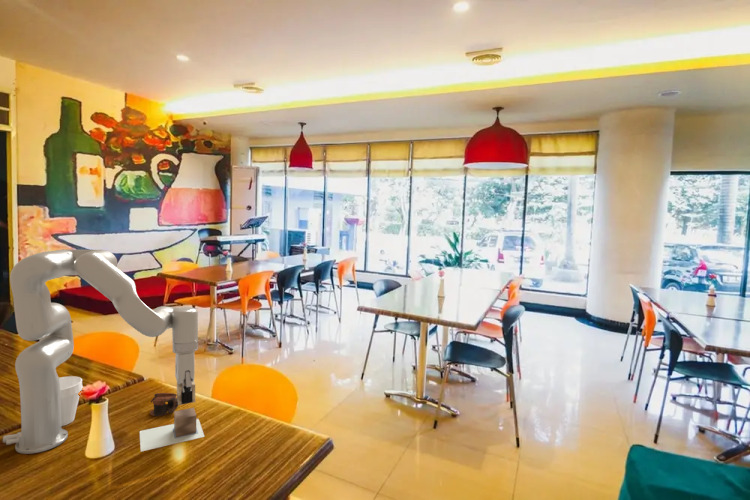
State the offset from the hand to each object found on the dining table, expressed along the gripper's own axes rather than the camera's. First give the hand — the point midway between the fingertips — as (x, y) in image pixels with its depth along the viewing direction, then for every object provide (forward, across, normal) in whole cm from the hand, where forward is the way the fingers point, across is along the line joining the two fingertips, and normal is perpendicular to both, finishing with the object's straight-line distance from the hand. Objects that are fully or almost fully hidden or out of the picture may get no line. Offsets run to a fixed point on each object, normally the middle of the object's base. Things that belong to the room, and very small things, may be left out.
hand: (185, 398), depth 133 cm
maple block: (+1, 0, 0) cm, 1 cm away
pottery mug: (+12, -18, -5) cm, 23 cm away
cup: (+12, -26, -36) cm, 46 cm away
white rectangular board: (+12, 0, -4) cm, 13 cm away
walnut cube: (+11, 0, 0) cm, 11 cm away
